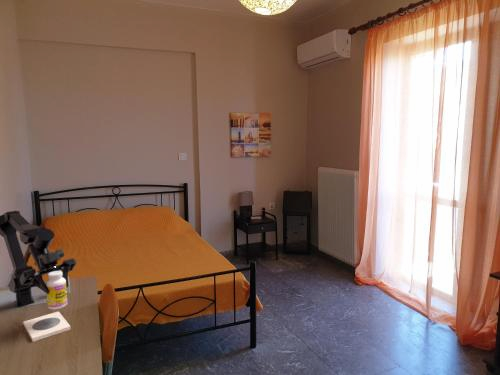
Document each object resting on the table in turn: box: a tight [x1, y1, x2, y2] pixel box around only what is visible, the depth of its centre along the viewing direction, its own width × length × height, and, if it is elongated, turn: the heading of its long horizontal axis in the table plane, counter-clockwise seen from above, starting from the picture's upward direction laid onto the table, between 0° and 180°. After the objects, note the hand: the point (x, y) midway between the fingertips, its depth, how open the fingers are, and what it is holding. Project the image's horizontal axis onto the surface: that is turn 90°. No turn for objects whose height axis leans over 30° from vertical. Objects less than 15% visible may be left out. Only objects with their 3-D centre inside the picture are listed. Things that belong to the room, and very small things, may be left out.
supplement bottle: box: [45, 271, 68, 310], centre depth 135 cm, size 7×7×13 cm
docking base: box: [23, 311, 72, 343], centre depth 134 cm, size 16×12×1 cm
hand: (58, 290), depth 134 cm, fingers closed on supplement bottle, 7 cm apart
